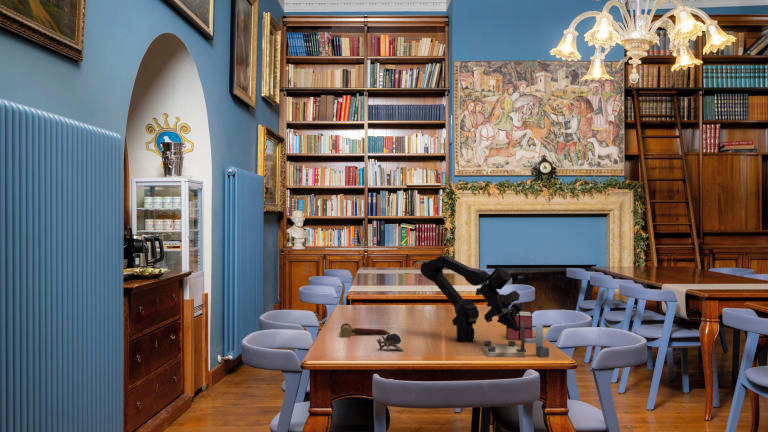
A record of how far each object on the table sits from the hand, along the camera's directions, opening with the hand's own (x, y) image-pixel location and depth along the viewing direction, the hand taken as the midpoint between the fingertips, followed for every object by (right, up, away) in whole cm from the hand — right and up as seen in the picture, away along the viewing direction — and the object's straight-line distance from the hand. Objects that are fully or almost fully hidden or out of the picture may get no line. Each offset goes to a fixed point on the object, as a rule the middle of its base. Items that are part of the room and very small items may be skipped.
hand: (517, 330), depth 202 cm
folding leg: (+4, -7, -7) cm, 11 cm away
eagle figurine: (-47, -7, -1) cm, 47 cm away
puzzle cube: (+6, -8, +23) cm, 25 cm away
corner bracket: (+7, -7, -9) cm, 13 cm away
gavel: (-57, -8, +28) cm, 64 cm away
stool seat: (-7, -7, -3) cm, 10 cm away
